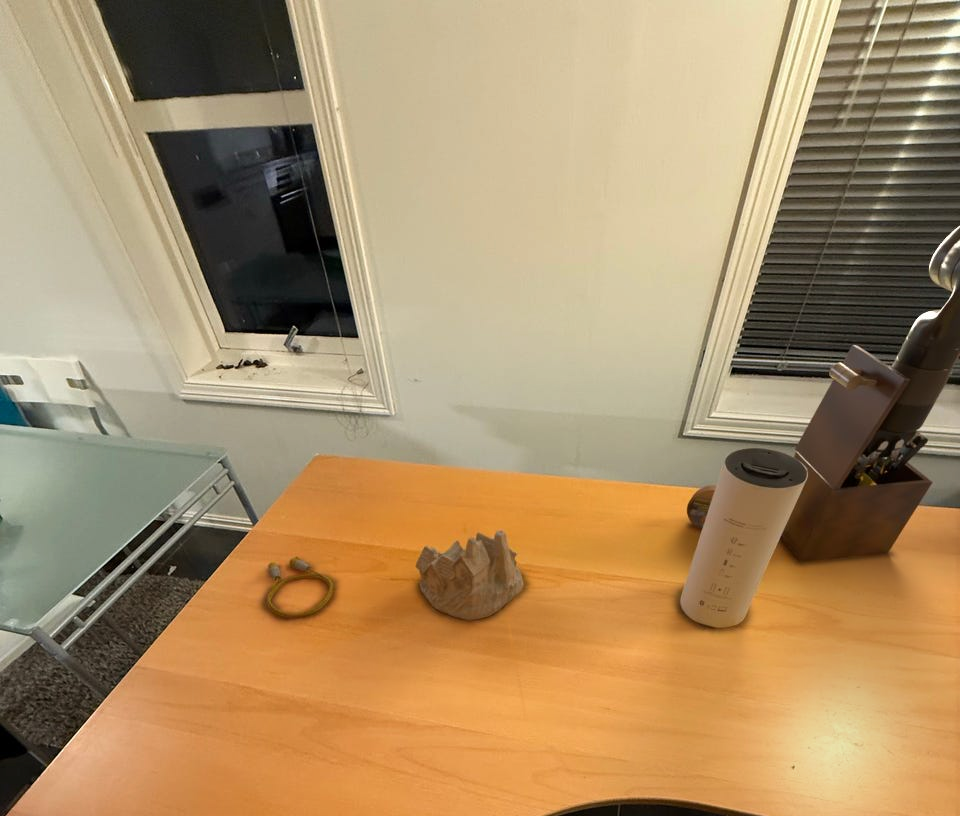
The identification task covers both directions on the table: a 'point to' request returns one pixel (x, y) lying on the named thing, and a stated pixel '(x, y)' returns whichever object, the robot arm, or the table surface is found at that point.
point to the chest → (852, 514)
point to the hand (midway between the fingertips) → (856, 492)
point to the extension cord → (299, 565)
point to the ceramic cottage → (470, 576)
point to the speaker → (741, 534)
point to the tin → (700, 505)
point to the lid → (849, 414)
